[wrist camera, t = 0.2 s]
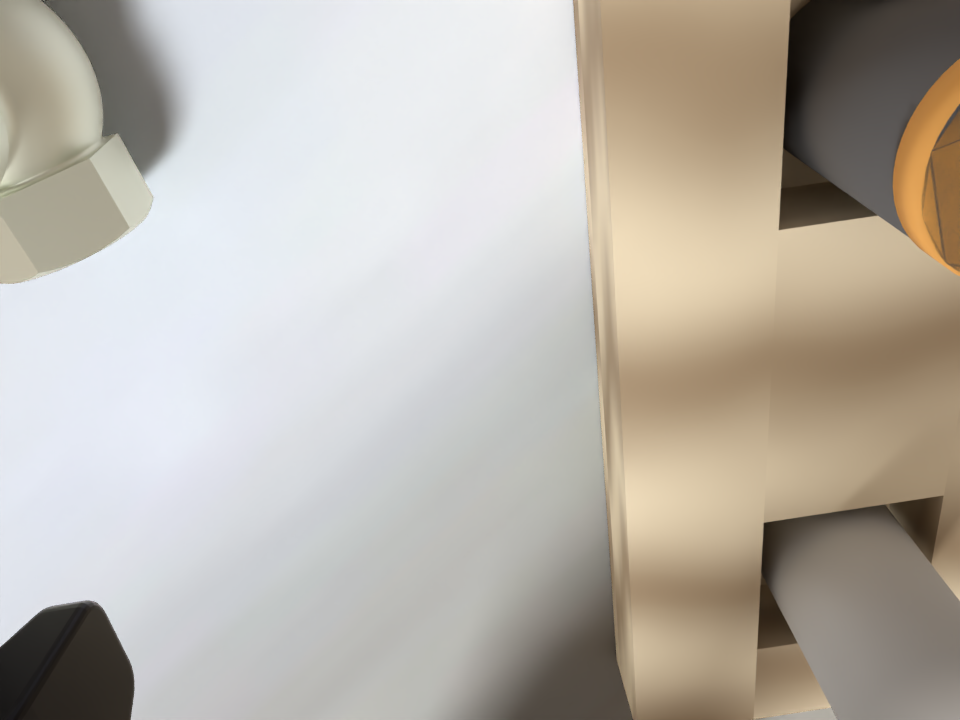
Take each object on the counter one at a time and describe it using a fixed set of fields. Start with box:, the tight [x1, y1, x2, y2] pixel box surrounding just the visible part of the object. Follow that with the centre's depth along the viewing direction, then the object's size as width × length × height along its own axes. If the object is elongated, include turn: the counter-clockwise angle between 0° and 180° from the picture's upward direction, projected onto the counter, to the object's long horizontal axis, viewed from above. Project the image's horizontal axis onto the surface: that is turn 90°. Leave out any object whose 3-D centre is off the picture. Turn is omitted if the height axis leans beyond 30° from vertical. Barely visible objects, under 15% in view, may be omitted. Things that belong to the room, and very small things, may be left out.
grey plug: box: [761, 504, 960, 720], centre depth 23 cm, size 4×4×7 cm
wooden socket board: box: [573, 0, 960, 720], centre depth 22 cm, size 24×12×3 cm, turn 7°
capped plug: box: [783, 0, 960, 276], centre depth 16 cm, size 4×4×7 cm
